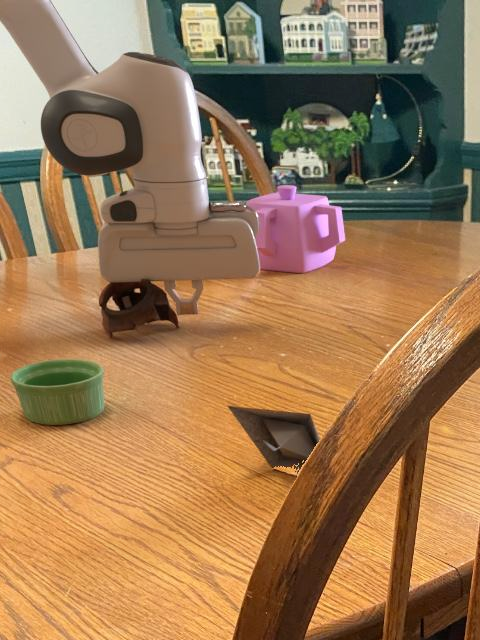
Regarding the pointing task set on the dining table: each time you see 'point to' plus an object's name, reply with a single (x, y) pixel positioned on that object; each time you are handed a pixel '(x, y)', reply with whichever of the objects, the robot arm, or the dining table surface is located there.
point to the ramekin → (60, 391)
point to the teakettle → (296, 230)
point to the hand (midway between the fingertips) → (187, 313)
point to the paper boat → (279, 434)
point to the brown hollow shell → (134, 306)
